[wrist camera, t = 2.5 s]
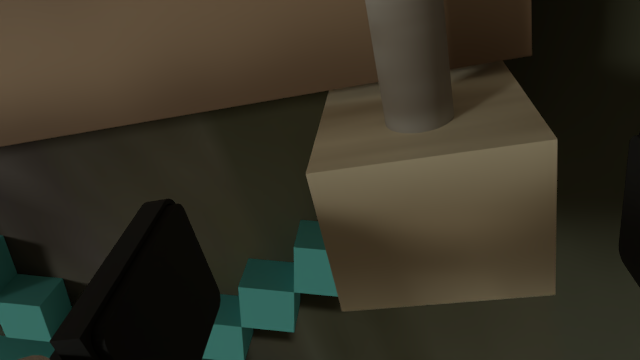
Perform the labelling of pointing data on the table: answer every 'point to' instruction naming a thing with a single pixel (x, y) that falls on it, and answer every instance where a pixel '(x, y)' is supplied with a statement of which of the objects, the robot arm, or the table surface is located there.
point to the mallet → (433, 175)
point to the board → (204, 55)
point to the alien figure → (231, 321)
